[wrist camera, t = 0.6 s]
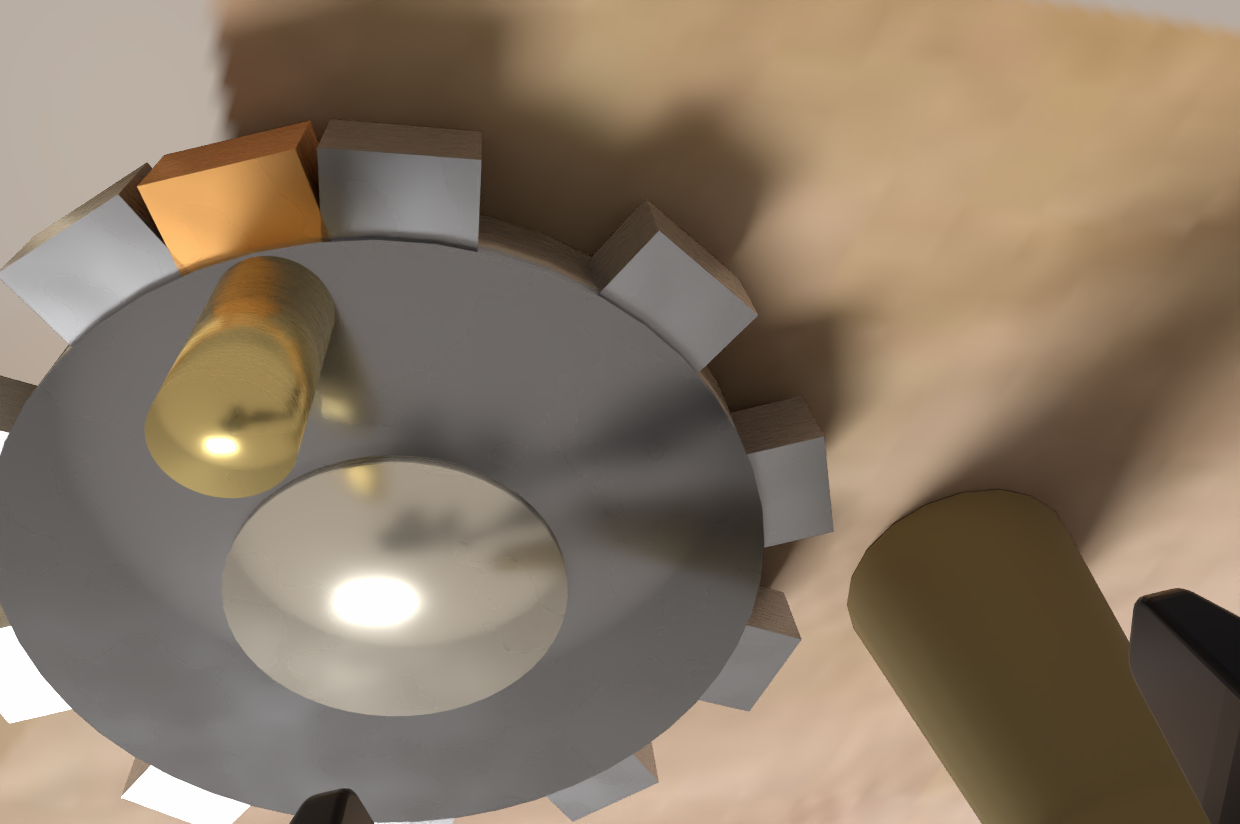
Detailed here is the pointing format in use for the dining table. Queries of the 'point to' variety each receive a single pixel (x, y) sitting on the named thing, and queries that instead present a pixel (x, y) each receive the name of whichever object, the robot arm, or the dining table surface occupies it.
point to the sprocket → (383, 486)
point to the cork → (1015, 666)
